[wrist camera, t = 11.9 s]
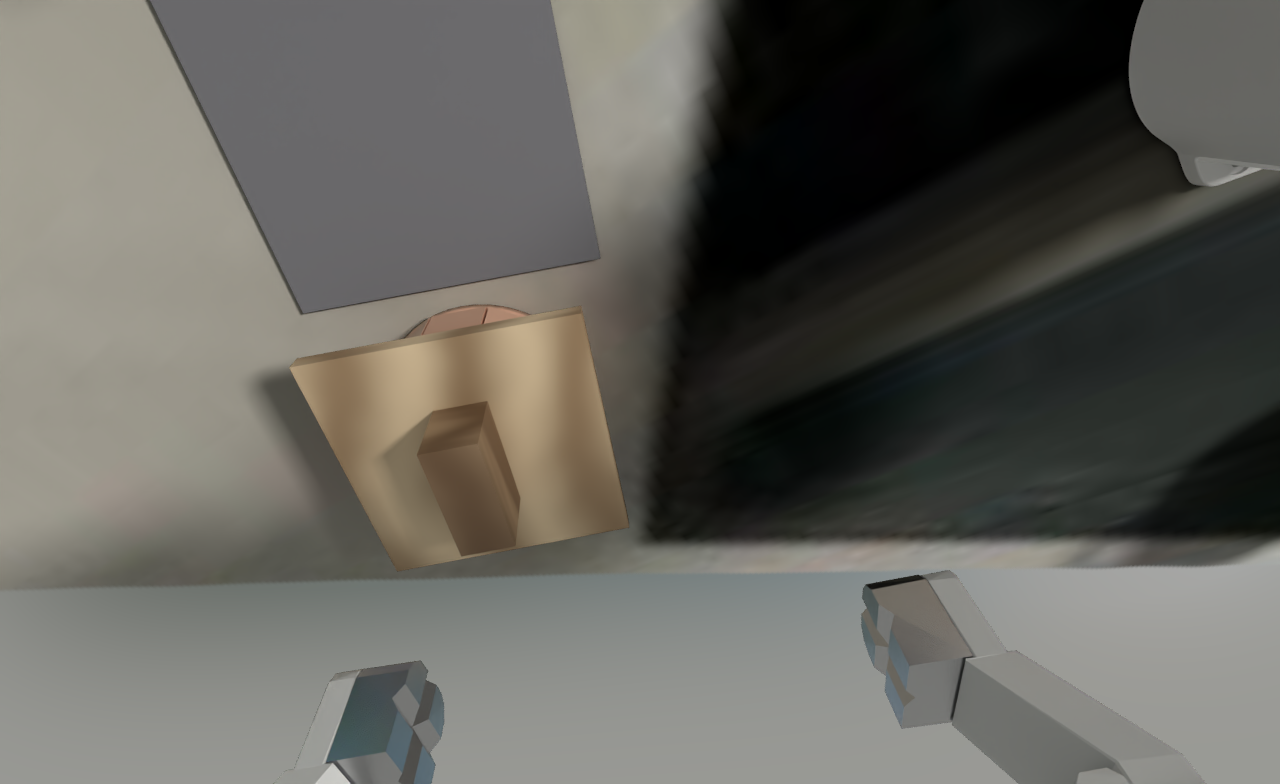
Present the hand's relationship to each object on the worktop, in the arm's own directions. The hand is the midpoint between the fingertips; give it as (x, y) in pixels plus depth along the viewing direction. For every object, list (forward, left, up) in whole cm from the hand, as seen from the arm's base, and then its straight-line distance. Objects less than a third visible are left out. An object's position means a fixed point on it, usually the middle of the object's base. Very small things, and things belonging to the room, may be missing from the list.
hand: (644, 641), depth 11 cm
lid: (+9, +10, -22) cm, 26 cm away
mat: (+9, -7, -28) cm, 30 cm away
